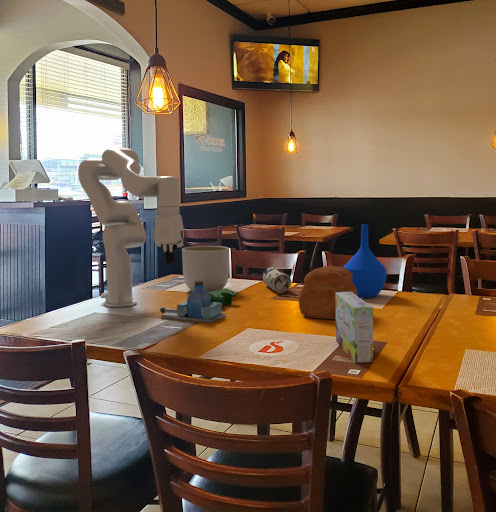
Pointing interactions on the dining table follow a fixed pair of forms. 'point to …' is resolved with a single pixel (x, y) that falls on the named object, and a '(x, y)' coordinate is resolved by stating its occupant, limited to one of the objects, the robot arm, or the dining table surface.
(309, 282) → the bread
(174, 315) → the vise bed
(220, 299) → the clamp
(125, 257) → the robot arm
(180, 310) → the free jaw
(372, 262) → the vase
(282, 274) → the pencil case
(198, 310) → the perfume bottle
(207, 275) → the planter
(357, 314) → the snack box
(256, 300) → the dining table surface
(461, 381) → the dining table surface
